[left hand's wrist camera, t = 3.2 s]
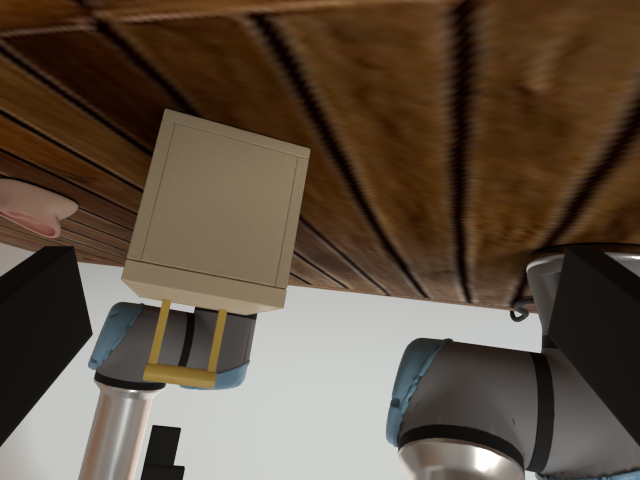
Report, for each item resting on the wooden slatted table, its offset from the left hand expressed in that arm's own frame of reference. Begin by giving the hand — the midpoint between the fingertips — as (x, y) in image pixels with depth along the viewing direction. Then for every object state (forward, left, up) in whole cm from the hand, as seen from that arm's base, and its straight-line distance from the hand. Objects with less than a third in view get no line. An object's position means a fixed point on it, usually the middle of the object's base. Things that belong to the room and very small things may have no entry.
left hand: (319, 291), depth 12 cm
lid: (-19, +17, -2) cm, 26 cm away
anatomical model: (-28, +51, -12) cm, 60 cm away
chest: (-19, +17, -12) cm, 28 cm away
